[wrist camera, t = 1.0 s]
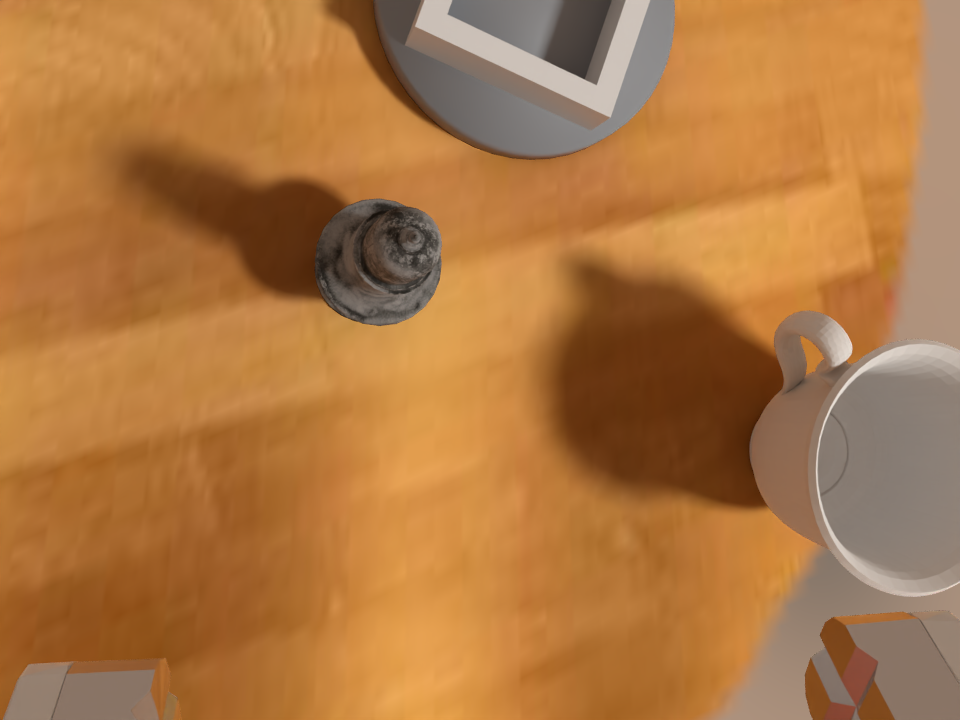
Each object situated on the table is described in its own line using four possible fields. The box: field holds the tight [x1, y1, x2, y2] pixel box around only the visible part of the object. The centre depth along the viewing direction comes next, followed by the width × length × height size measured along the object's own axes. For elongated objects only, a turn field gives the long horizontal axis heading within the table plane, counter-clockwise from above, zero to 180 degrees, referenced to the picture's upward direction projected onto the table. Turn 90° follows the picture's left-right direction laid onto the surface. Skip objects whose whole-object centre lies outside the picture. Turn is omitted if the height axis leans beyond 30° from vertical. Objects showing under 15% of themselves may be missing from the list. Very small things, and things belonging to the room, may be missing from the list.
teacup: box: [749, 311, 960, 596], centre depth 46 cm, size 12×15×10 cm
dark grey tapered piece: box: [315, 199, 442, 326], centre depth 39 cm, size 6×6×12 cm
